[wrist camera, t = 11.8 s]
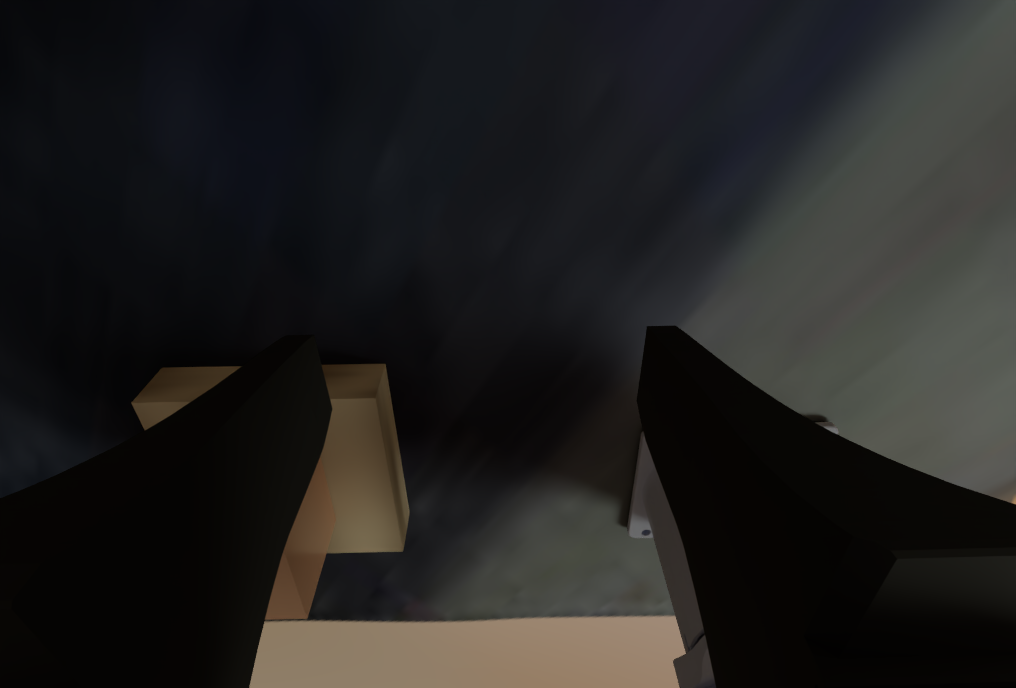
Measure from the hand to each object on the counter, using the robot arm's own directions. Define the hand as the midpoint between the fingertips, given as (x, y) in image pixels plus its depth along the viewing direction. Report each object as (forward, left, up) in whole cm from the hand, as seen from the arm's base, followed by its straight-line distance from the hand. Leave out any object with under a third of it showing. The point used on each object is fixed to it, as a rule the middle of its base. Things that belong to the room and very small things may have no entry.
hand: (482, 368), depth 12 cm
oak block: (+10, +12, -11) cm, 19 cm away
